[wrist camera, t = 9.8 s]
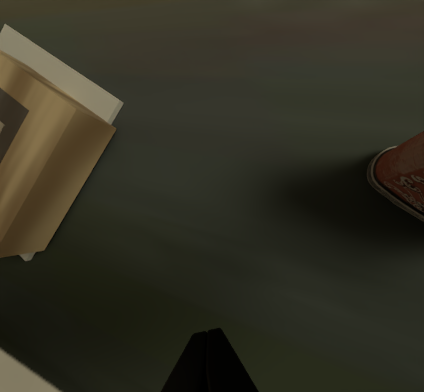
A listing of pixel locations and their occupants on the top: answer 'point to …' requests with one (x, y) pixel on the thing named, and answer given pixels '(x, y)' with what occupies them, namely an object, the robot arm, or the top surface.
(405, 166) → the lighter
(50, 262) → the top surface
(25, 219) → the letter block
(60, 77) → the felt mat
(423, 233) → the top surface
